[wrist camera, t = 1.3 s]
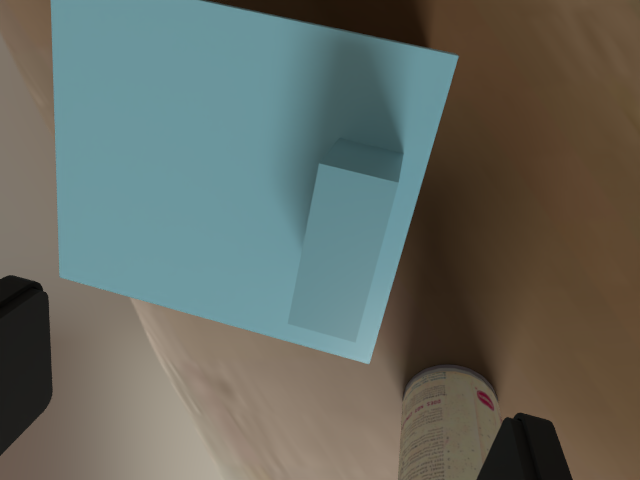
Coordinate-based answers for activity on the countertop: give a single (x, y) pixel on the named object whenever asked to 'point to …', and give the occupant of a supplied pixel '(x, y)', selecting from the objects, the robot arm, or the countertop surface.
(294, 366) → the countertop surface
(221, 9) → the lid
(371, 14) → the countertop surface
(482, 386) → the aerosol can
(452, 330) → the countertop surface
